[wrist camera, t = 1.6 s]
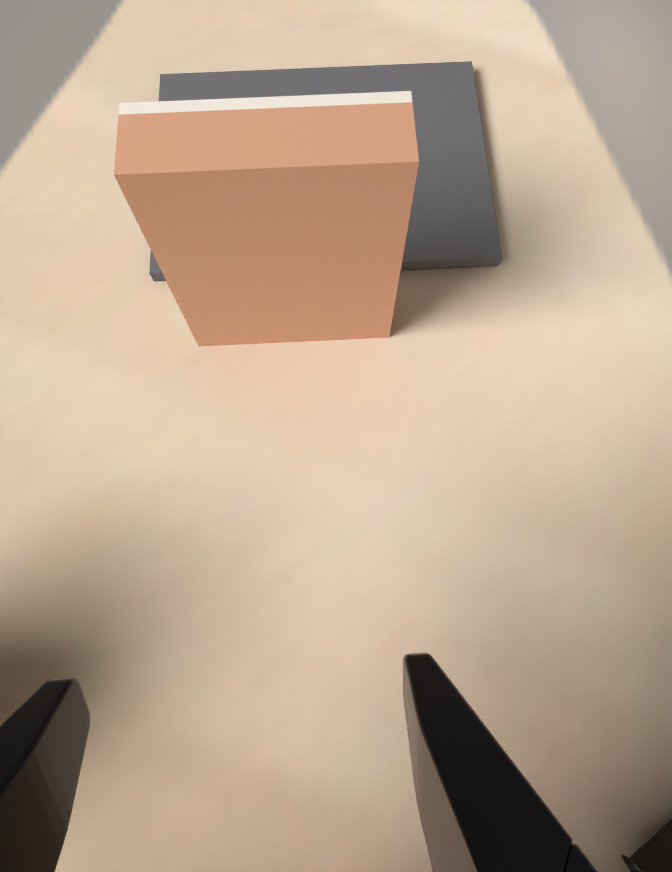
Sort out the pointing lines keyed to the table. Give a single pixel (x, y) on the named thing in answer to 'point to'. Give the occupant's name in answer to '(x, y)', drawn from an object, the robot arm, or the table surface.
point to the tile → (274, 210)
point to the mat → (436, 141)
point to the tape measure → (653, 853)
